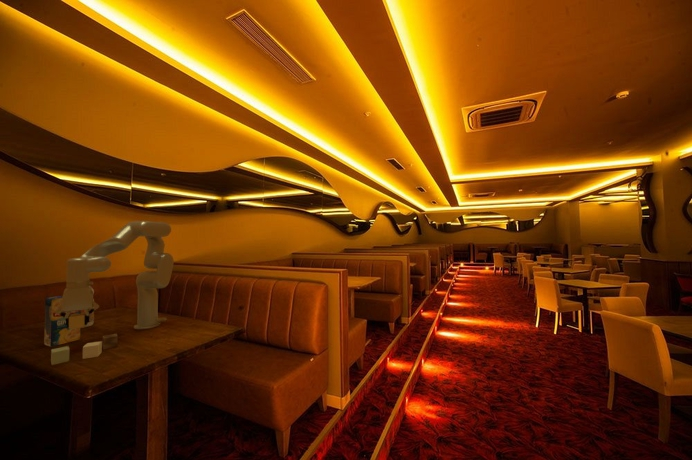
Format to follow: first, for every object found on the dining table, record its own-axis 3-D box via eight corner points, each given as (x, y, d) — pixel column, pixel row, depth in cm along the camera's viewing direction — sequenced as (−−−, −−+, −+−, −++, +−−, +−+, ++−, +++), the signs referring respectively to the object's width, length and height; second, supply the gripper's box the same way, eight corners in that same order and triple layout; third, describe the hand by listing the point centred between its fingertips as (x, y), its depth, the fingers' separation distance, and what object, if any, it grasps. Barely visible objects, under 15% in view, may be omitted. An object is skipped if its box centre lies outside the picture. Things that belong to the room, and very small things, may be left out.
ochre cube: (86, 323, 131) (86, 312, 132) (84, 326, 127) (84, 315, 127) (71, 325, 129) (71, 314, 129) (68, 328, 125) (68, 317, 125)
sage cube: (67, 357, 120) (68, 345, 120) (69, 361, 117) (69, 349, 117) (50, 361, 116) (51, 349, 116) (51, 365, 113) (52, 352, 113)
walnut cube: (116, 343, 136) (116, 333, 136) (117, 346, 132) (117, 335, 132) (102, 346, 132) (102, 335, 133) (103, 349, 129) (103, 338, 129)
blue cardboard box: (80, 339, 142) (81, 295, 143) (50, 346, 132) (51, 299, 133) (73, 337, 145) (74, 294, 146) (43, 344, 135) (45, 298, 136)
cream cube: (101, 352, 125) (101, 341, 126) (97, 356, 121) (98, 345, 121) (87, 354, 123) (87, 343, 123) (82, 359, 119) (82, 347, 119)
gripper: (103, 282, 136) (103, 319, 136) (54, 286, 127) (53, 326, 126) (101, 284, 130) (101, 324, 130) (48, 288, 120) (48, 331, 120)
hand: (77, 324), depth 128 cm, fingers closed on ochre cube, 5 cm apart
